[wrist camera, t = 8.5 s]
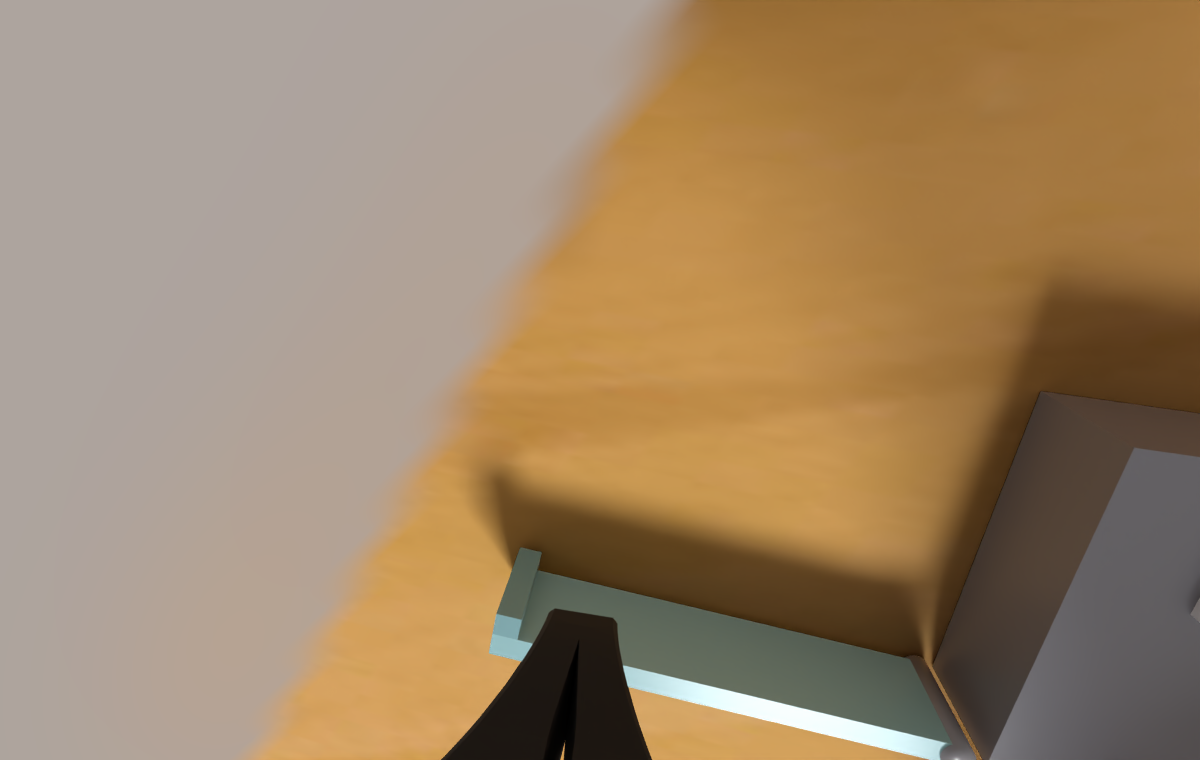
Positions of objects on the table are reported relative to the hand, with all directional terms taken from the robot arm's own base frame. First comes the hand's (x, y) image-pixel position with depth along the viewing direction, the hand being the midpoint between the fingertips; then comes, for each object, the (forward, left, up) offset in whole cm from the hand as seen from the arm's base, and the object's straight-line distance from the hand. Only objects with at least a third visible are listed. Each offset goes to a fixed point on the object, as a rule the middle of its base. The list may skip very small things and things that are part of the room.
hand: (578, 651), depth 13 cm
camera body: (-1, -17, -9) cm, 19 cm away
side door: (-6, -5, -9) cm, 11 cm away
